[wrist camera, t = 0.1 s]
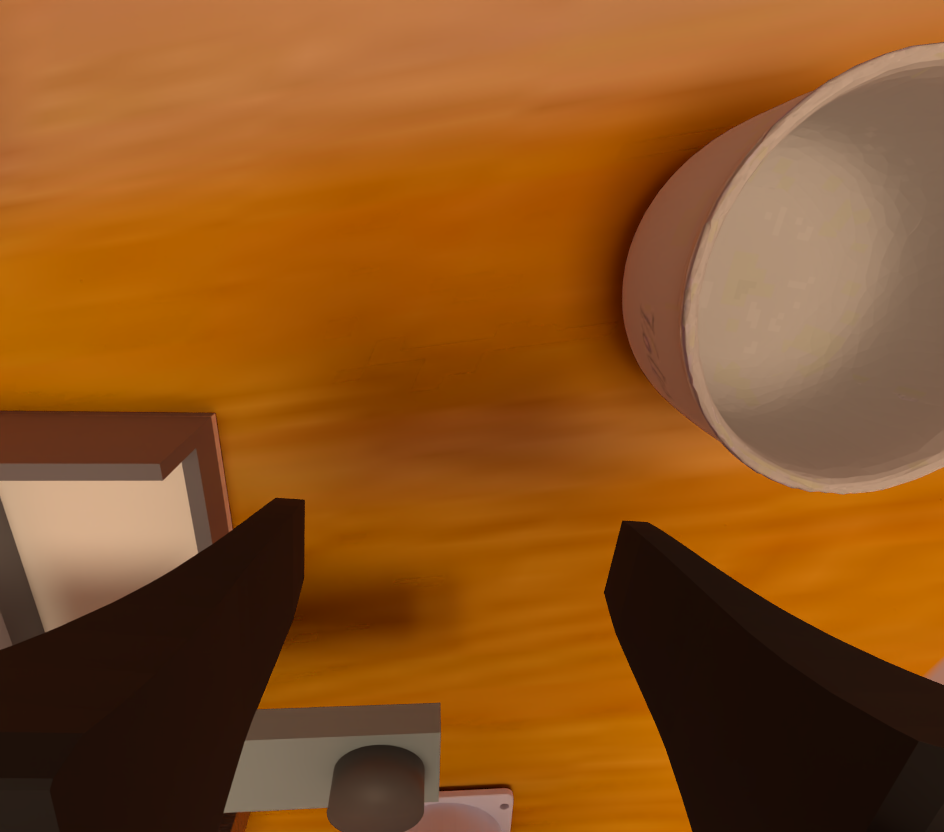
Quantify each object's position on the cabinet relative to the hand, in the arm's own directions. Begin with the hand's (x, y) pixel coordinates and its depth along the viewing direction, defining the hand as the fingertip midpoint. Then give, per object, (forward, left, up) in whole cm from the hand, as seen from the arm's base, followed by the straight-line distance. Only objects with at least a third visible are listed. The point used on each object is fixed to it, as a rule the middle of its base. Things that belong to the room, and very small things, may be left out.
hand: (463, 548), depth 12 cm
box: (-7, +14, -10) cm, 19 cm away
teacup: (+5, -12, -10) cm, 17 cm away
